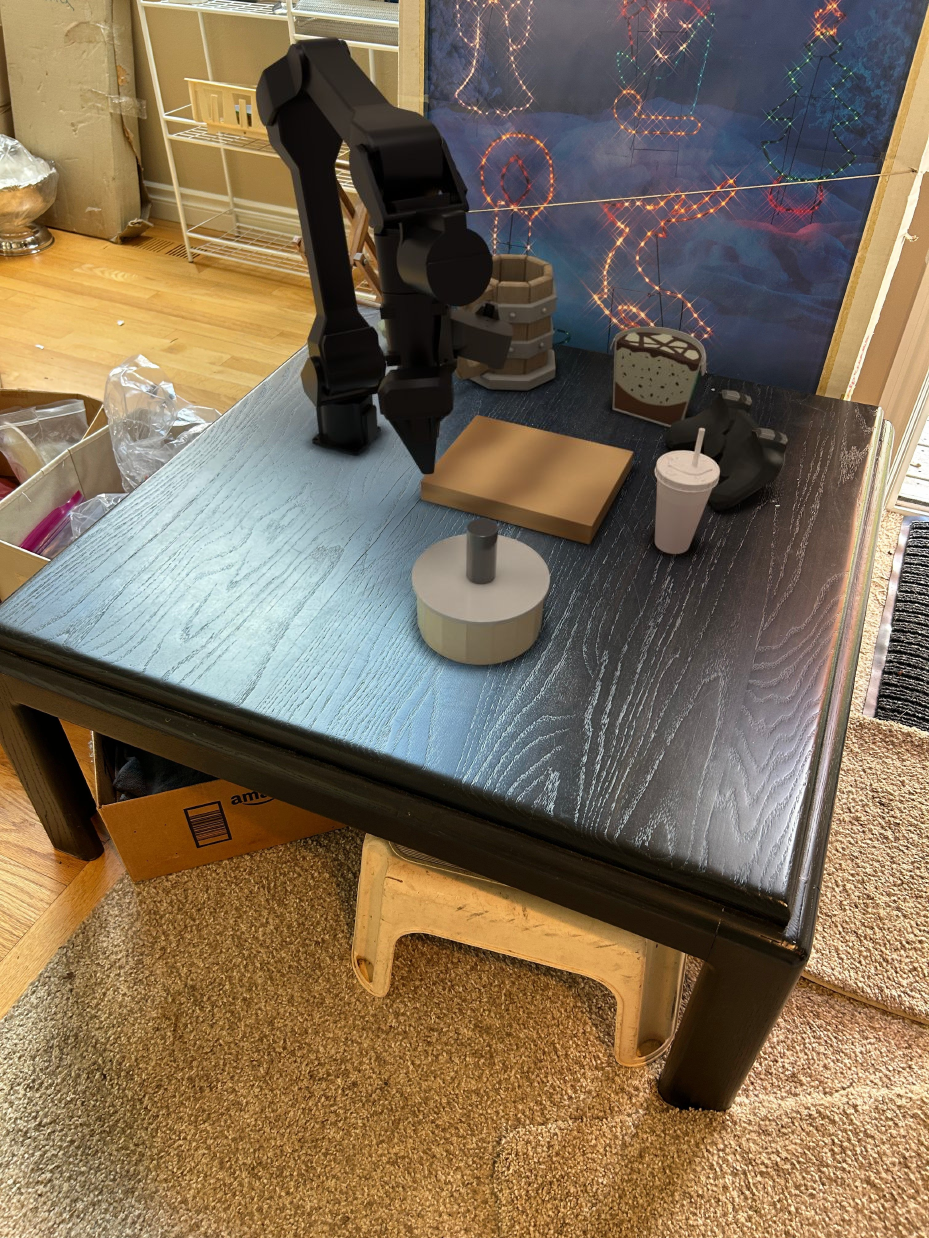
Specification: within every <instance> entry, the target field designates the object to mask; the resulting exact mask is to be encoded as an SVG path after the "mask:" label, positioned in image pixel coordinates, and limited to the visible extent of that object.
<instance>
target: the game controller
mask: <svg viewBox="0 0 929 1238" xmlns="http://www.w3.org/2000/svg"><path fill="white" fill-rule="evenodd" d="M752 402H753V400H752V399H751V396H749V395H747V394H745V393H742V392H737V391H735V390H728V389H722V390H721V391H720V392H719V391H718V392H717V397H716V398H715V399H714V400H713V401H712V403H711V404H710V405H709V407H707V408H705V409H704V410H702V411H701V412H699V413H698V414H696V415H694V416H690V417H685V419H683V420H679V421H676V422H674V423H672V425H671V427H668V429H667V431H666V445H667V447H668V448H670V449H671V450H672V451H682V450H689V449H695V447H696V442H697V437H698V433H699V429H700V428H704V429H705V432H704V437H703V441H702V446H701V448H703V453H704V455H706V456H708V457H709V458H711V459H712V460H714V461H715V462H718V466H719V469H720V474H719V476H722V477H723V478H726V480H724V481H723V482H721V483H719V484H717V485H716V486H715V487H713V488H712V491H711V493H710V496H709V498H708V500H709V502H710V504H711V506H712V508H713V509H715V510H716V511H718V512H720V511H725V510H726V509H729V508H732V507H733V506H735V505H737V504H738V503H740V502H742V501H743V500H745V499H746V498H748V497H749V496H751V495H752V494H754V493H755V492H757V491H759V490H760V489H761V488H763V487H765V486H767V485H770V484H772V483H773V482H775V480H776V479H778V477H779V476H780V475H781V473H782V471H783V469H784V467H785V463H786V453H785V452H786V450H787V447H788V444H787V443H788V437H787V435H786V434H784V433H782V432H780V431H778V430H772V429H770V428H764V427H763V428H762V427H760V426H759V425H758V423H757V422H756V421H755V420H754V419H753V418H752V417H751V416H750V415H751V414H750V413H751V408H752Z"/></svg>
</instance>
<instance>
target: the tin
mask: <svg viewBox="0 0 929 1238" xmlns="http://www.w3.org/2000/svg"><path fill="white" fill-rule="evenodd" d="M544 601H545V600H544ZM544 601H543V602H542V603H541V604H540V605H539V606H538V607H537V608H536V609H535V610H534V611H532V612H531V613H530V614H528V615H526V616H524V617H522V618H520V619H518V620H515V621H512V622H508V623H504V624H499V625H490V626H477V625H467V624H461V623H457V622H453V621H450V620H448V619H445V618H443V617H441V616H438V615H436V614H435V613H433V612H432V611H430V610H429V609H428V608H427V607H425V606H424V605H423V604H422V603H421V601H420V600H419V599H418V597H417V596H416V611H417V614H416V615H417V626H418V630H419V633H420V636H421V637H422V638H423V640H424V642H425V643H426V644H427V646H428V647H430V648H431V649H432V650H433V651H434V652H436V653H437V654H438V655H440V656H442V657H444V658H446V659H448V660H451V661H454V662H457V663H461V664H467V665H474V666H475V665H476V666H488V665H489V666H490V665H496V664H500V663H504V662H508V661H510V660H513V659H515V658H517V657H519V656H520V655H523V654H524V653H525V652H526V651H528V650H529V649H530V648H531V647H532V646H533V645H534V643H535V642H536V641H537V639H538V636H539V634H540V632H541V631H540V630H541V629H542V622H543V612H544V611H543V610H544Z"/></svg>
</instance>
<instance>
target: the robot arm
mask: <svg viewBox="0 0 929 1238" xmlns="http://www.w3.org/2000/svg"><path fill="white" fill-rule="evenodd" d="M255 103H256V109H257V114H258V117H259V121H260V122H261V124H262V126H263V127H265V130H266V132H267V138H268V142H269V145H270V146H271V148H272V149H273V151H274V152H275V153H276V154H277V155H278V157H279V158H280V159H281V160H282V161H283V163H284V165H285V166H287V168H288V170H289V172H290V176H291V181H292V187H293V192H294V197H295V203H296V208H297V215H298V218H299V219H298V220H299V225H300V231H301V236H302V241H303V247H304V252H305V257H306V263H307V269H308V274H309V280H310V286H311V291H312V296H313V302H314V306H315V317H314V320H313V323H312V325H311V328H310V331H309V333H308V336H307V340H306V343H307V348H308V349H307V350H308V357H307V359H306V361H305V362H304V365H303V367H302V370H301V371H300V380H301V385H302V389H303V392H304V393H305V395H306V397H307V398H308V399H309V400H310V402H311V403H312V405H313V406H314V407H315V413H316V423H317V430H318V432H317V434H315V436H314V437H312V438H311V443H312V445H314V446H318V447H322V448H327V449H329V450H330V449H331V450H334V451H337V452H341V453H346V454H350V455H352V456H353V455H354V456H358V455H360V454H362V452H364V450H365V449H366V448H367V447H368V446H369V445H370V443H372V441H373V440H374V439H376V438H377V437H378V436H379V434H380V433H381V432H382V427H381V426H379V425H378V412H377V405H376V404H374V398H373V396H374V395H377V400H378V407H379V415H382V416H383V417H384V419H385V420H386V421H388V422H389V424H390V425H391V427H392V429H393V430H394V432H395V434H397V436H398V437H399V439H400V441H401V442H402V443H403V445H404V447H405V448H406V450H407V452H408V453H409V455H410V457H411V458H412V460H413V461H414V464H416V466H417V468H418V469H419V471H420V473H421V474H422V475H424V476H425V475H426V474H433V473H434V469H435V464H436V457H437V445H438V438H439V437H440V429H441V422H442V421H443V420H444V419H445V418H446V417H448V416H449V415H451V413H452V412H453V410H454V403H455V391H454V390H455V389H454V377H453V374H454V371H455V370H456V368H457V365H458V356H459V357H462V358H465V359H469V360H472V361H476V362H479V363H483V364H486V365H487V366H488V367H489V368H492V369H497V370H502V369H503V368H504V365H505V362H506V358H507V355H508V352H509V348H510V345H511V342H512V338H513V327H512V326H511V325H510V324H508V321H505V320H504V322H503V321H500V315H499V310H498V305H497V304H495V303H491V302H488V301H484V300H483V301H482V302H481V303H480V304H479V305H478V306H477V308H476V309H475V310H474V311H473V312H472V313H471V311H470V310H466V311H461V310H457V308H453V307H457V306H458V307H461V306H466V305H468V304H471V303H473V302H475V301H476V300H477V299H478V298H480V297H481V296H482V294H483V293H484V292H485V290H486V289H487V287H488V285H489V283H490V280H491V277H492V273H493V258H492V256H493V255H492V254H491V251H490V248H489V245H488V244H487V242H486V241H485V239H484V238H483V237H482V236H481V235H480V234H479V233H478V232H476V231H474V230H473V229H471V228H468V223H467V214H468V213H469V212H470V205H469V201H468V199H467V194H468V191H469V189H468V188H467V185H466V183H465V181H464V179H463V177H462V175H461V173H460V171H459V168H458V167H457V164H456V162H455V160H454V158H453V156H452V155H451V151H450V149H449V146H448V143H447V141H446V139H445V138H444V137H443V135H442V134H441V132H440V130H439V128H438V127H437V126H436V124H434V122H432V121H431V120H430V119H428V118H426V117H425V116H424V115H422V114H421V113H419V112H417V111H413V110H410V109H405V108H401V107H397V106H395V105H393V104H391V103H390V102H389V100H388V99H387V98H386V97H385V95H384V94H383V93H382V92H381V91H380V90H379V88H378V87H377V86H376V85H375V83H374V82H373V81H372V80H371V79H370V77H368V75H367V74H366V73H365V72H364V70H363V69H362V68H361V67H360V66H359V64H358V63H357V62H356V60H355V59H354V58H353V57H352V55H351V50H350V47H349V45H348V43H347V41H346V40H344V39H339V38H338V37H336V36H333V37H332V36H331V37H317V38H306V39H299V40H297V41H296V43H291V44H290V45H289V47H288V49H287V52H286V54H285V55H284V56H282V57H281V58H279V59H278V60H276V61H275V62H273V63H272V64H270V65H269V66H267V67H266V68H265V69H263V70H262V72H261V75H260V77H259V80H258V82H257V85H256V87H255ZM343 143H344V144H345V145H346V146H347V148H348V149H349V153H348V166H349V175H350V178H351V182H352V185H353V187H354V189H355V191H356V193H357V195H358V197H359V198H360V201H361V202H362V204H363V206H364V208H365V209H366V212H367V213H368V215H369V218H368V221H367V223H368V227H369V228H370V229H372V230H373V241H374V248H375V249H374V250H375V257H376V264H377V265H376V266H377V272H378V280H379V288H380V296H381V303H380V306H379V314H380V315H379V316H380V321H381V320H383V319H384V321H385V329H386V337H387V340H386V342H387V350H386V353H385V354H384V350H383V349H382V347H381V345H380V340H379V332H378V330H377V329H375V327H374V326H373V325H372V326H371V325H370V324H369V322H368V321H367V319H365V317H364V316H363V314H361V312H360V311H359V307H358V302H357V295H356V289H355V284H354V277H353V271H352V264H351V258H350V253H349V245H348V240H347V233H346V227H345V221H344V215H343V209H342V202H341V196H340V190H339V184H338V177H337V171H336V163H337V160H338V157H339V155H340V151H341V149H342V145H343ZM440 192H441V193H440ZM388 367H389V368H390V367H396V368H393V369H389V371H388V372H387V368H388ZM386 372H387V373H386Z"/></svg>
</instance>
